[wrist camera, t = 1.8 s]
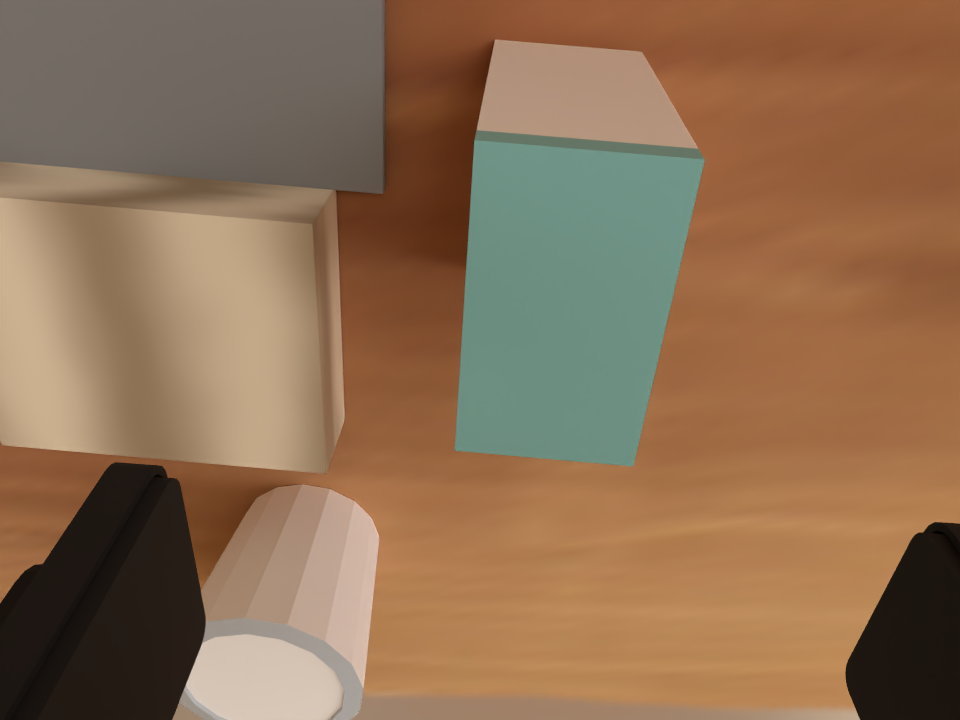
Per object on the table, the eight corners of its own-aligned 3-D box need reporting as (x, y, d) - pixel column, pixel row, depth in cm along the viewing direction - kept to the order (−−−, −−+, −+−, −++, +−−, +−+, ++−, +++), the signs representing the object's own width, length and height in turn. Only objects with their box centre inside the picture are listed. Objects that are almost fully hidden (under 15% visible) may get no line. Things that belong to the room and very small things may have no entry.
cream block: (642, 51, 21) (704, 159, 13) (602, 281, 25) (633, 466, 17) (495, 39, 21) (474, 139, 13) (478, 270, 25) (454, 450, 17)
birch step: (335, 184, 23) (312, 223, 21) (344, 419, 28) (326, 473, 26) (-22, 154, 23) (-89, 190, 21) (49, 393, 28) (2, 445, 26)
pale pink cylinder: (294, 443, 29) (234, 590, 23) (428, 539, 31) (405, 694, 26) (197, 531, 32) (121, 681, 26) (326, 612, 34) (284, 767, 28)
